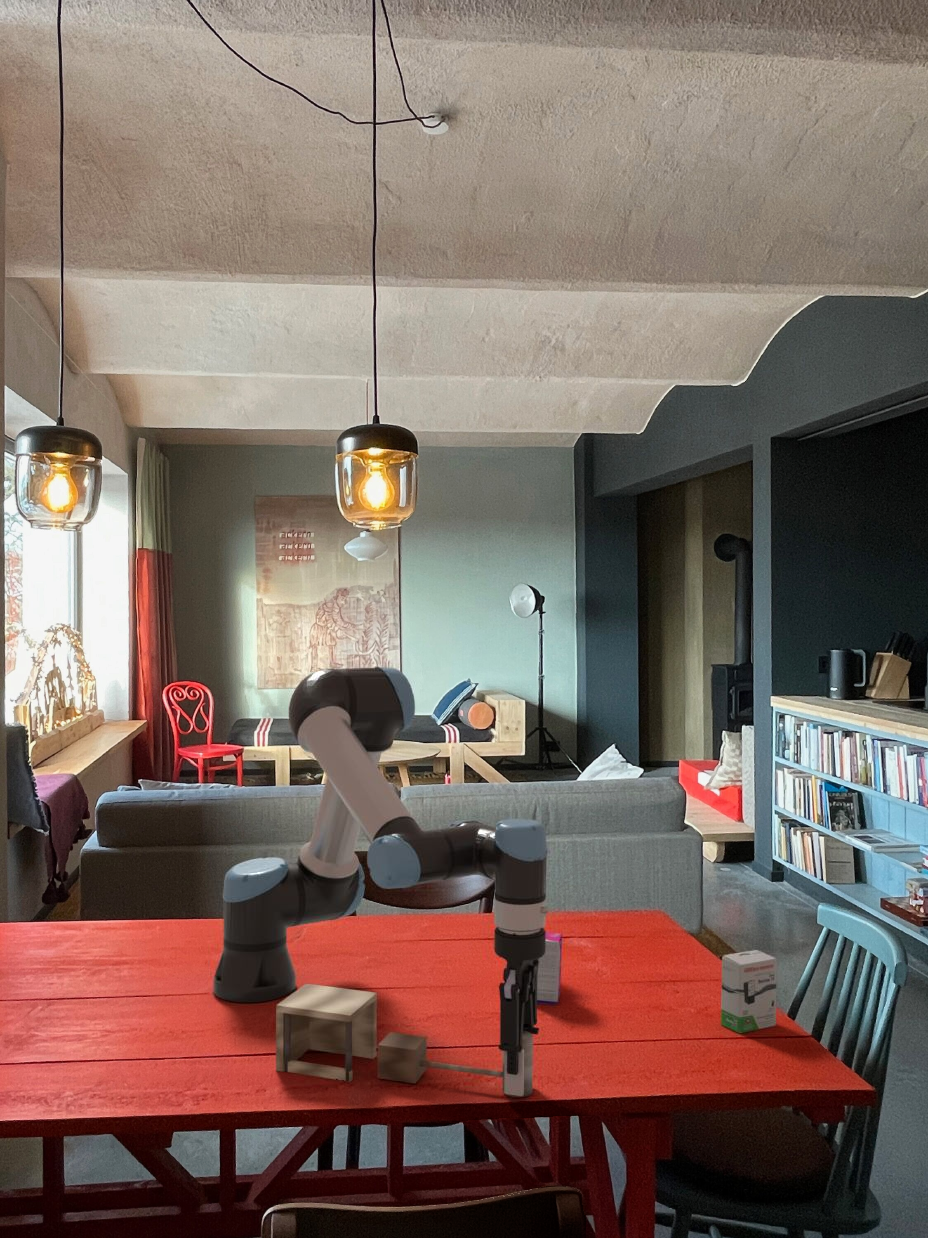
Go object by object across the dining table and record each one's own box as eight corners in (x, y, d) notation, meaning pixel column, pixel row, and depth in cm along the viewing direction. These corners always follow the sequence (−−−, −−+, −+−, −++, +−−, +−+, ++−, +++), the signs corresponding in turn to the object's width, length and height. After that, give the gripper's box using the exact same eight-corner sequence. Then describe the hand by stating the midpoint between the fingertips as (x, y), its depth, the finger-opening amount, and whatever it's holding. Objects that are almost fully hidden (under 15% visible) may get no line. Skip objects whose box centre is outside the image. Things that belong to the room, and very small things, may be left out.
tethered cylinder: (377, 1078, 156) (378, 1025, 156) (389, 1064, 161) (390, 1013, 161) (528, 1100, 149) (528, 1044, 149) (535, 1085, 154) (536, 1031, 154)
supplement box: (558, 1005, 187) (559, 941, 187) (525, 1002, 188) (526, 939, 188) (562, 994, 193) (562, 932, 193) (530, 991, 194) (530, 930, 194)
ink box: (739, 1035, 174) (739, 964, 174) (719, 1024, 179) (719, 955, 179) (778, 1026, 178) (778, 956, 178) (757, 1016, 183) (758, 948, 183)
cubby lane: (275, 1070, 159) (276, 1005, 159) (305, 1045, 169) (306, 983, 169) (349, 1082, 155) (350, 1015, 155) (376, 1056, 165) (376, 993, 165)
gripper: (529, 948, 143) (528, 1117, 143) (558, 913, 159) (557, 1066, 159) (477, 942, 145) (476, 1109, 145) (511, 909, 162) (510, 1059, 162)
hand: (518, 1086), depth 152 cm, fingers closed on tethered cylinder, 4 cm apart
